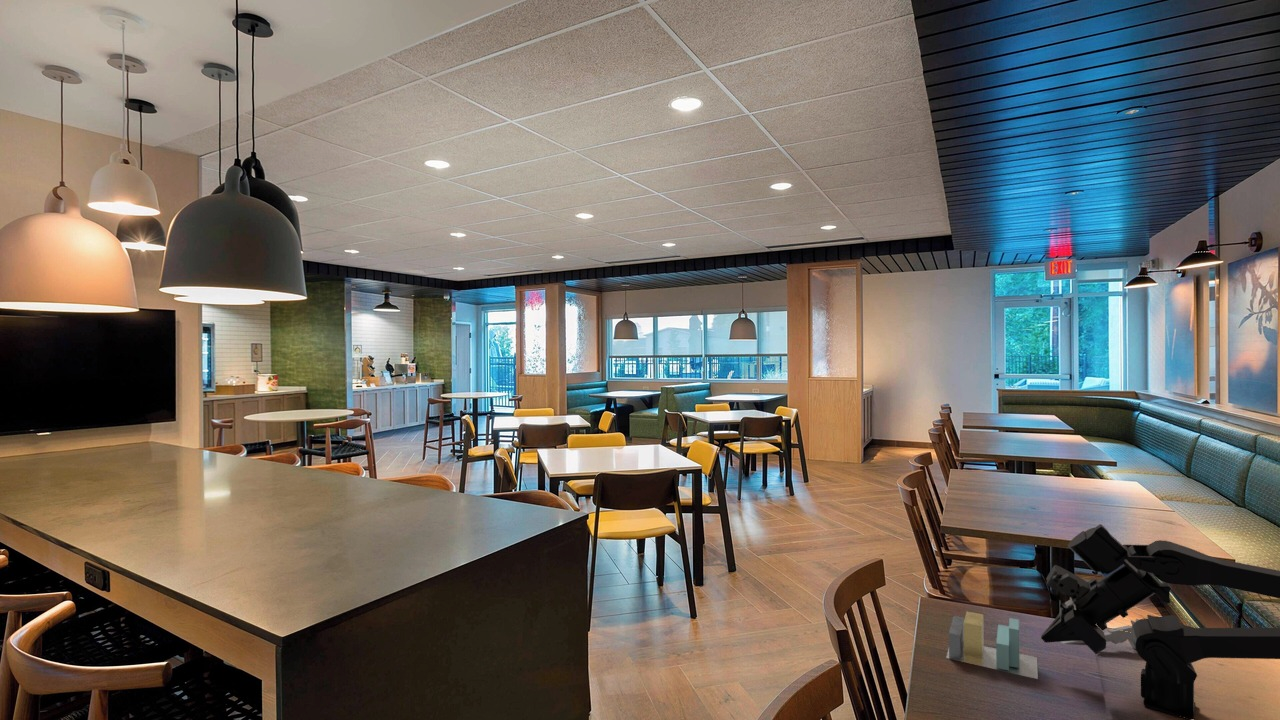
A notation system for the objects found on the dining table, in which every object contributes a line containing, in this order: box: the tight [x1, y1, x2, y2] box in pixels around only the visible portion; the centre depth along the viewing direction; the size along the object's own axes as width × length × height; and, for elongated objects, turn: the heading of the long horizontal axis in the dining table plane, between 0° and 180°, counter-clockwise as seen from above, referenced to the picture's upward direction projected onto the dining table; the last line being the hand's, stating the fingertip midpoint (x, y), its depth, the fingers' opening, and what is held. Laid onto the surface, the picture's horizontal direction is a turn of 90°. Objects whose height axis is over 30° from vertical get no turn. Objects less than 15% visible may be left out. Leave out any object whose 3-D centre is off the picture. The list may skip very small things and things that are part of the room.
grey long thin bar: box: [1060, 618, 1140, 650], centre depth 124 cm, size 20×1×6 cm, turn 90°
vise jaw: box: [995, 617, 1020, 671], centre depth 117 cm, size 4×9×7 cm, turn 147°
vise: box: [945, 615, 1039, 680], centre depth 119 cm, size 15×9×6 cm, turn 57°
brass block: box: [964, 611, 985, 662], centre depth 120 cm, size 3×6×7 cm, turn 147°
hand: (1042, 639), depth 114 cm, fingers closed
